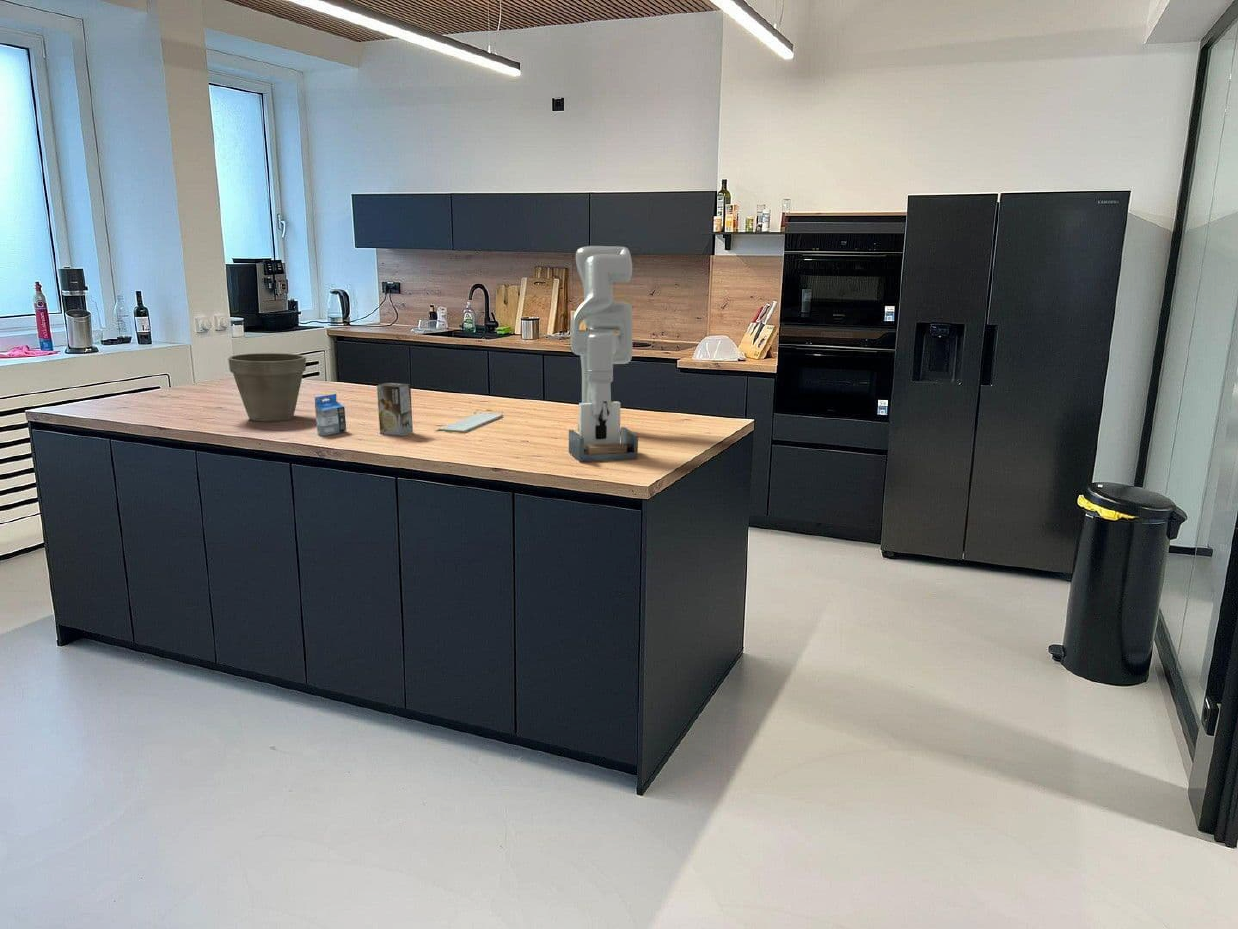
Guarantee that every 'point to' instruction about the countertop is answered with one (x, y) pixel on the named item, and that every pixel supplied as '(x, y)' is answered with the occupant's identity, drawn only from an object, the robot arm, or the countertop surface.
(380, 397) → the coffee box
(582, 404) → the white rectangular panel
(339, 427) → the label tape box
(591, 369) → the robot arm
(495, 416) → the baseboard molding
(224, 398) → the countertop surface
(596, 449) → the offcut stack
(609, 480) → the countertop surface
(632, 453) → the offcut rack
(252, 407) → the plant pot
